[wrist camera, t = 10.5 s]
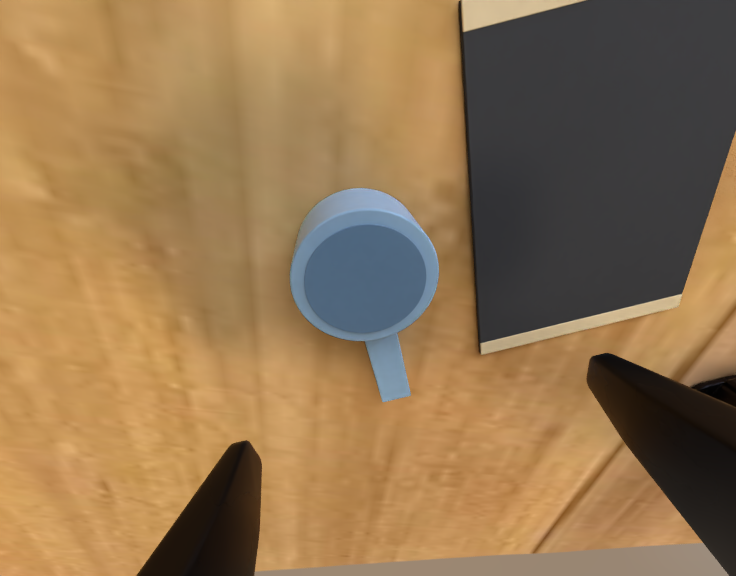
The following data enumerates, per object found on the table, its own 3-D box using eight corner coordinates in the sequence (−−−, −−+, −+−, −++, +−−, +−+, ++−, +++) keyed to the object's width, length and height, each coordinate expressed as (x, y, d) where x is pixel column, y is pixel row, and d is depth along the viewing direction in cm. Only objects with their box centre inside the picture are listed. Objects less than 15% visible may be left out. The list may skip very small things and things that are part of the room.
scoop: (277, 206, 15) (265, 232, 12) (409, 172, 15) (431, 191, 12) (344, 387, 22) (347, 435, 19) (438, 364, 22) (456, 408, 18)
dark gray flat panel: (673, 304, 21) (678, 307, 21) (479, 351, 21) (481, 355, 21) (798, -88, 12) (810, -93, 12) (458, 1, 12) (461, -1, 12)
